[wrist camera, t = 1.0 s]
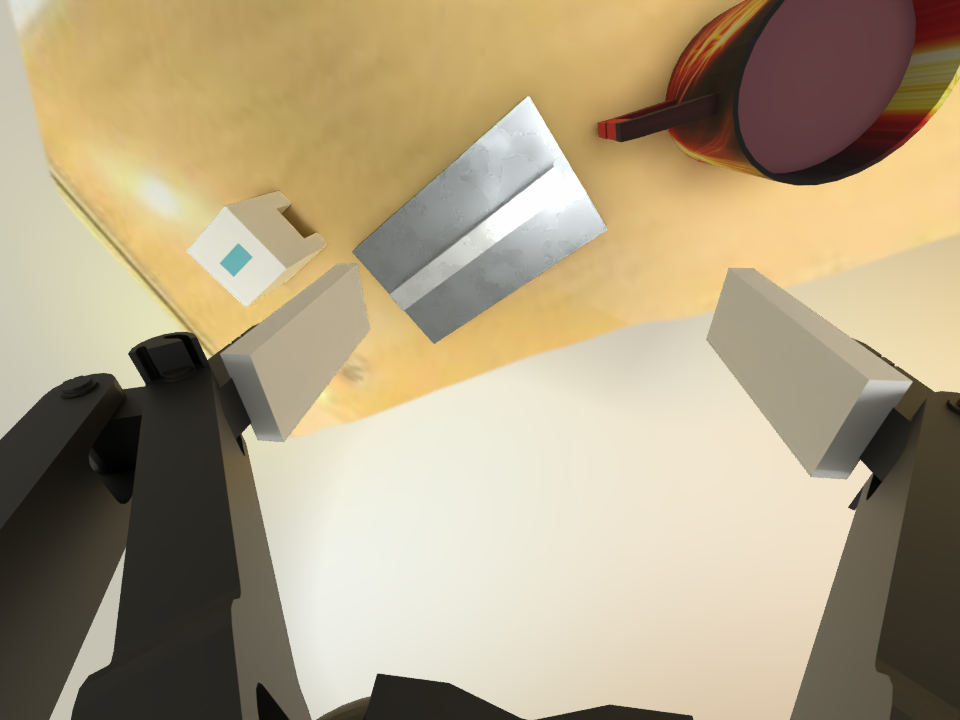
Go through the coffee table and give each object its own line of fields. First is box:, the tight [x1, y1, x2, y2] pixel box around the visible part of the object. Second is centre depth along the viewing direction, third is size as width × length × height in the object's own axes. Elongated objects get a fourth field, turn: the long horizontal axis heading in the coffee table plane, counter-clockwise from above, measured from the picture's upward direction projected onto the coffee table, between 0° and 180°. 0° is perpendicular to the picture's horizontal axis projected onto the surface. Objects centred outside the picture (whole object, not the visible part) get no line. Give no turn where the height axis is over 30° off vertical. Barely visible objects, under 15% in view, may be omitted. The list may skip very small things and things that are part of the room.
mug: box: [598, 0, 960, 185], centre depth 24 cm, size 10×14×12 cm
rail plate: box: [352, 96, 608, 344], centre depth 35 cm, size 12×20×3 cm, turn 127°
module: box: [186, 190, 328, 307], centre depth 35 cm, size 6×6×8 cm
